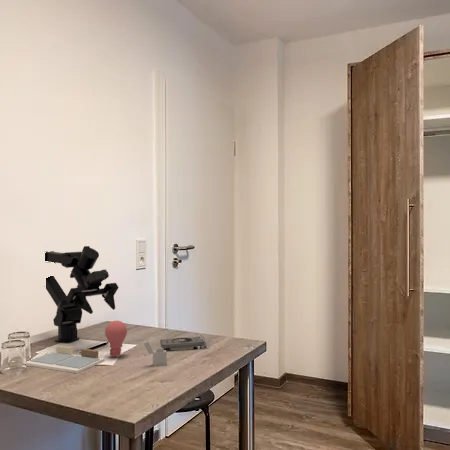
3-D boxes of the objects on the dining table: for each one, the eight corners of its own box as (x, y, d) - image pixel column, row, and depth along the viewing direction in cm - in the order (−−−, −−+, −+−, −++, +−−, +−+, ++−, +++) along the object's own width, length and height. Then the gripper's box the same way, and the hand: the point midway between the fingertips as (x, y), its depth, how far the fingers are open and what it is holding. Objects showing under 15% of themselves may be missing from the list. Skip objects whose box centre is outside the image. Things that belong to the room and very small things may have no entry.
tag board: (24, 365, 143) (24, 354, 143) (54, 353, 155) (54, 344, 155) (76, 373, 135) (76, 362, 135) (104, 360, 147) (104, 351, 147)
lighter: (165, 363, 144) (165, 338, 144) (166, 365, 143) (166, 339, 143) (143, 365, 143) (143, 340, 142) (143, 367, 141) (143, 341, 141)
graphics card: (203, 332, 172) (209, 339, 161) (203, 342, 172) (209, 350, 161) (159, 335, 168) (162, 343, 157) (159, 345, 168) (162, 354, 157)
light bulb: (129, 353, 155) (129, 318, 155) (123, 359, 148) (122, 323, 148) (109, 353, 156) (109, 318, 156) (102, 359, 149) (101, 323, 149)
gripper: (69, 264, 154) (88, 299, 147) (114, 261, 168) (134, 292, 161) (57, 287, 159) (76, 321, 152) (102, 281, 173) (121, 312, 166)
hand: (103, 310), depth 157 cm, fingers open, 9 cm apart
